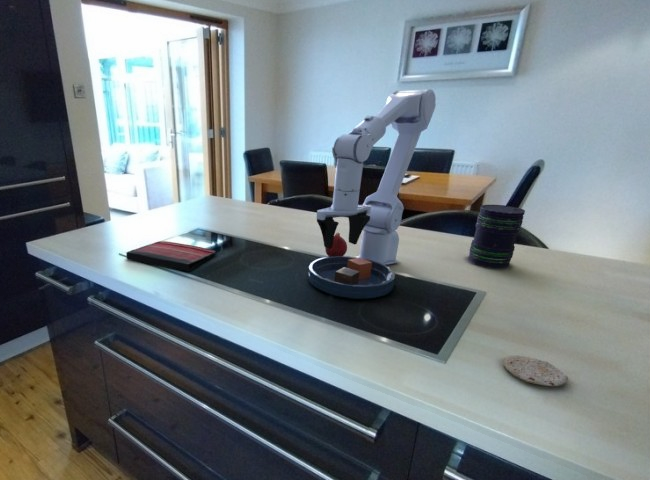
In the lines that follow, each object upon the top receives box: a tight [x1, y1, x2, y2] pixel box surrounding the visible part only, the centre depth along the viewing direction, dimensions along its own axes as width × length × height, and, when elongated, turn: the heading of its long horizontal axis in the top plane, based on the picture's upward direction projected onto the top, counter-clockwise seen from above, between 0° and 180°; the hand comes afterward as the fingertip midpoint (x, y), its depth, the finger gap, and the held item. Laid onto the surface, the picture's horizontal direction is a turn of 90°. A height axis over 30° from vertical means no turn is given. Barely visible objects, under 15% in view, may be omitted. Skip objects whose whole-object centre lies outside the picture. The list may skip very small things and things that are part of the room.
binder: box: [125, 240, 217, 273], centre depth 111 cm, size 16×2×21 cm
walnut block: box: [334, 267, 360, 285], centre depth 89 cm, size 4×4×4 cm
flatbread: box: [502, 355, 569, 387], centre depth 61 cm, size 8×8×1 cm
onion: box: [324, 232, 348, 257], centre depth 107 cm, size 6×6×8 cm
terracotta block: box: [347, 257, 372, 280], centre depth 96 cm, size 4×4×4 cm
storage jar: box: [467, 204, 526, 270], centre depth 104 cm, size 10×10×15 cm
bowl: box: [307, 255, 396, 300], centre depth 93 cm, size 19×19×4 cm
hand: (340, 245), depth 95 cm, fingers open, 7 cm apart
